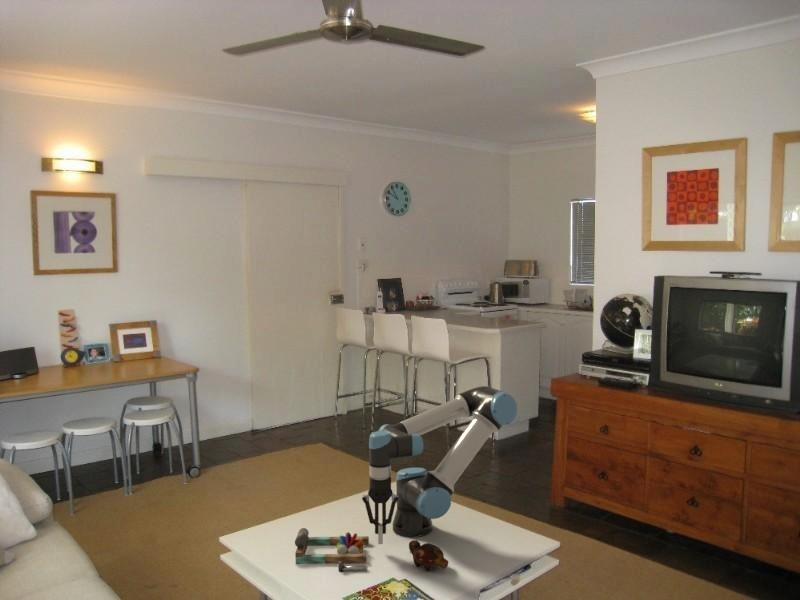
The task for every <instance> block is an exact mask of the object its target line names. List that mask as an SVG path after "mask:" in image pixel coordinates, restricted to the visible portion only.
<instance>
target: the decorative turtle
mask: <svg viewBox="0 0 800 600" xmlns="http://www.w3.org/2000/svg"><path fill="white" fill-rule="evenodd" d="M408 549H409V551H410V553H411V555H412V560H413V564H414V566H415V568H417V569H419V568H421V567H423V569H424V570H425V571H426V572H430V571H431V570H432V568H433V567H438V568H441V569H444V570H445V569H446V568H447V567H448V566H449V560H447V558H445V556H444V554H445V553H444V551H443V550H442V549H441V548H440V547H439V546H437V545H435V544H434V543H427V542H426V543H423V544H421V542H420V541H419V540H415V539H414V540H413V539H412V540H410V542H409V543H408Z"/></svg>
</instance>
